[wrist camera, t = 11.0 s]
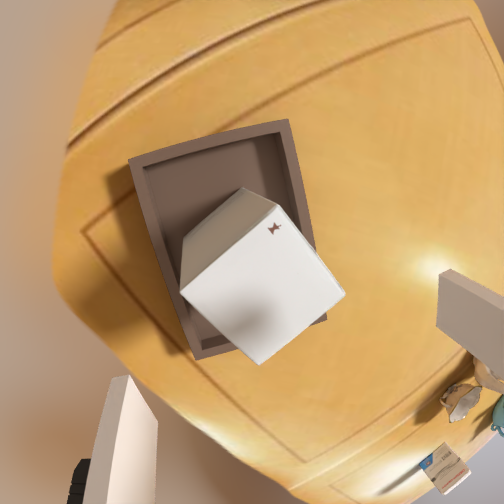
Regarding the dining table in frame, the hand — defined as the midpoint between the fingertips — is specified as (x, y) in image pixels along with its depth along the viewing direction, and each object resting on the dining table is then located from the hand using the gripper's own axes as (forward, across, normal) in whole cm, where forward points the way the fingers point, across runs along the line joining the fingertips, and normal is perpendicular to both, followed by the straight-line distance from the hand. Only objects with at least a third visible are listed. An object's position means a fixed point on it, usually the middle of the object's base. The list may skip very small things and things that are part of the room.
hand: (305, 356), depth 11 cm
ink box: (+20, +33, -66) cm, 76 cm away
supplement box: (+19, 0, 0) cm, 19 cm away
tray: (+20, 0, 0) cm, 20 cm away
